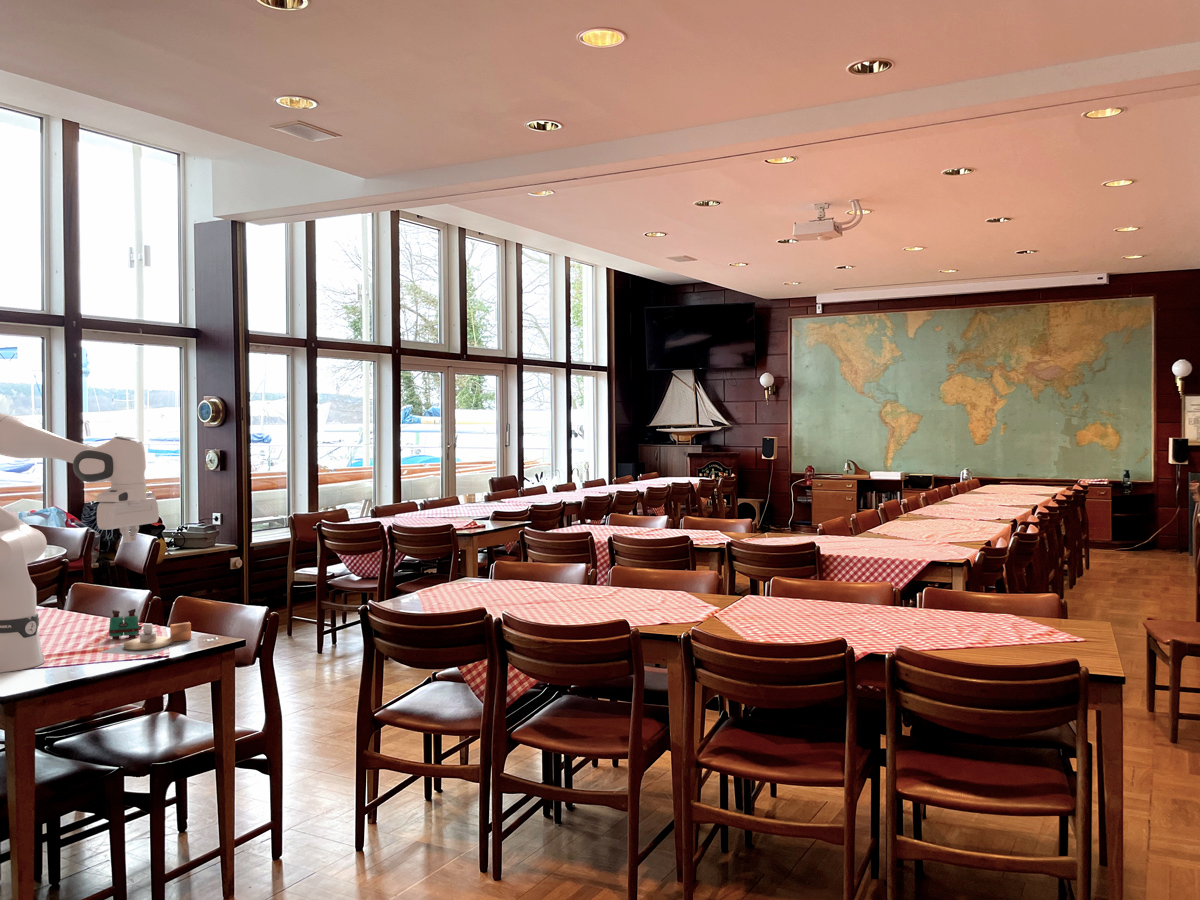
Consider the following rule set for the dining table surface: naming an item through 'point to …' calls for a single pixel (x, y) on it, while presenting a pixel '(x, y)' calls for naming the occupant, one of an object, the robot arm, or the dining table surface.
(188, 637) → the maple flange
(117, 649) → the base plate
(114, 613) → the binoculars
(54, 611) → the dining table surface
